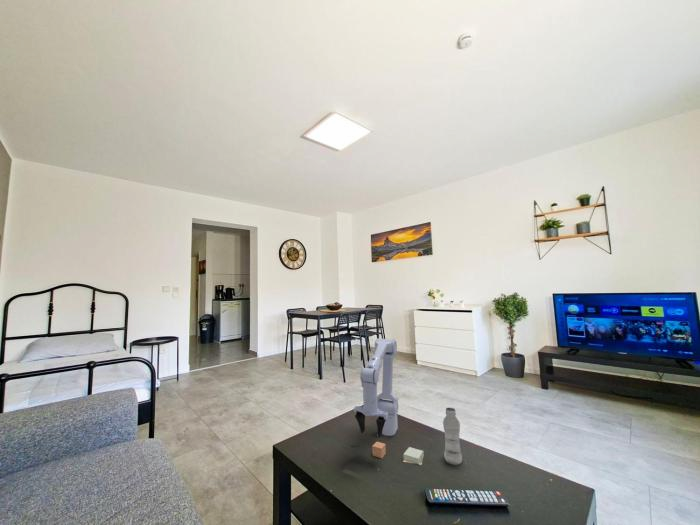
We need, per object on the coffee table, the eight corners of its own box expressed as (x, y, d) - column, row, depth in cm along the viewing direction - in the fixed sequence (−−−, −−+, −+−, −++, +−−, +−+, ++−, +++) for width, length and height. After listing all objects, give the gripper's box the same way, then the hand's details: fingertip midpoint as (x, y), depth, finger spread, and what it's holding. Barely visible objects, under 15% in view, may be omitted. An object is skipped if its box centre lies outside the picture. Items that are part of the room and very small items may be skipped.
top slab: (409, 452, 114) (409, 446, 114) (423, 456, 110) (423, 451, 111) (403, 459, 109) (403, 454, 109) (418, 464, 106) (418, 458, 106)
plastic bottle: (441, 464, 107) (438, 409, 110) (449, 456, 112) (446, 404, 115) (458, 471, 103) (455, 414, 105) (465, 463, 108) (461, 408, 110)
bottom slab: (406, 457, 114) (405, 451, 114) (423, 460, 111) (423, 454, 112) (403, 467, 107) (403, 461, 108) (421, 470, 105) (421, 464, 105)
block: (376, 454, 115) (376, 441, 116) (385, 456, 113) (385, 443, 114) (372, 459, 112) (372, 446, 112) (381, 462, 110) (381, 448, 110)
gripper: (349, 399, 113) (350, 434, 112) (382, 405, 106) (383, 443, 104) (358, 393, 119) (359, 426, 118) (389, 399, 112) (391, 434, 110)
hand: (371, 434), depth 111 cm, fingers open, 7 cm apart
